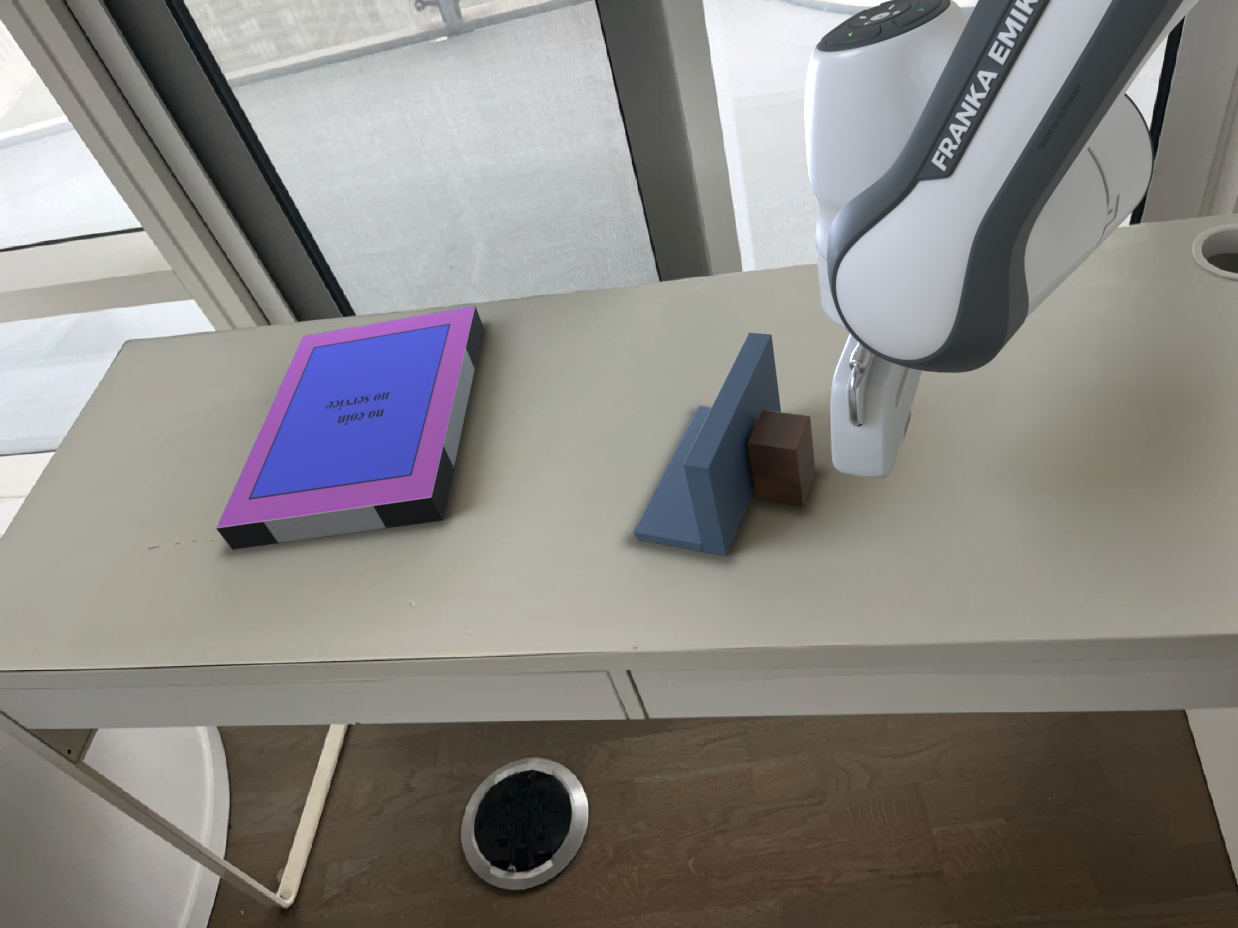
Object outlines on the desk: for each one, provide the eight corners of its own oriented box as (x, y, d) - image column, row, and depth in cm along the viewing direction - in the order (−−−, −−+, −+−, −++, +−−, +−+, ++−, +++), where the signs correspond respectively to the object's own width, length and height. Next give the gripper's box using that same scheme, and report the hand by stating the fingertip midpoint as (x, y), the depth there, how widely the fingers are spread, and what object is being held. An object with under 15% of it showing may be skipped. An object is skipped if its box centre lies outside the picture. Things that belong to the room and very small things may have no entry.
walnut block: (794, 485, 79) (853, 450, 74) (781, 519, 77) (840, 485, 71) (729, 434, 78) (783, 394, 72) (714, 467, 76) (768, 427, 70)
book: (475, 305, 103) (431, 497, 81) (483, 327, 105) (442, 520, 83) (302, 335, 106) (216, 528, 84) (313, 356, 108) (232, 549, 86)
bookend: (782, 422, 83) (771, 333, 76) (726, 556, 73) (708, 468, 66) (700, 413, 86) (682, 326, 79) (635, 539, 76) (609, 453, 70)
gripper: (907, 380, 51) (910, 543, 60) (967, 192, 63) (962, 351, 72) (796, 371, 54) (815, 528, 63) (874, 192, 66) (881, 345, 75)
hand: (895, 432), depth 68 cm, fingers closed
